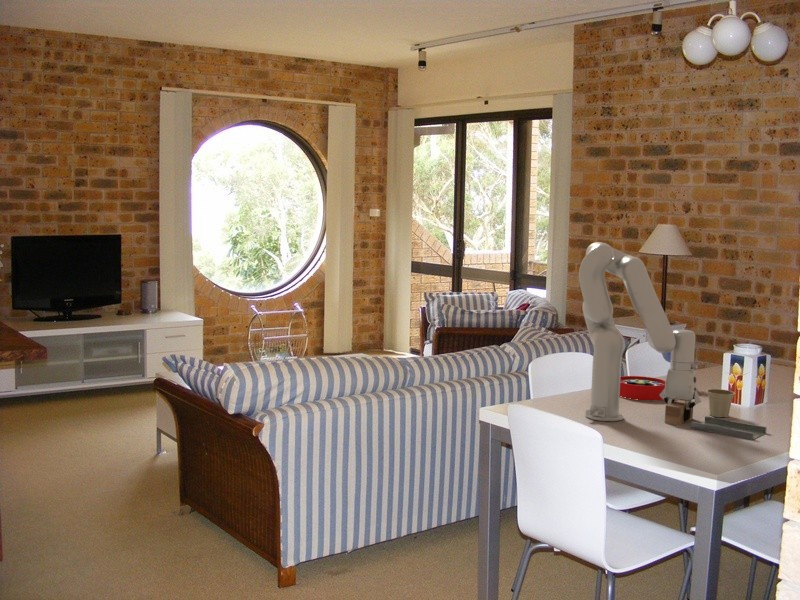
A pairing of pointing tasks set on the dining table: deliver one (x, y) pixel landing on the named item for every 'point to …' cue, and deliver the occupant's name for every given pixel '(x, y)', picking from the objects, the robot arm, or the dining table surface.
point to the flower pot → (720, 402)
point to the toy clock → (641, 387)
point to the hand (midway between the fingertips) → (678, 418)
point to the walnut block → (676, 413)
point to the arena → (730, 428)
